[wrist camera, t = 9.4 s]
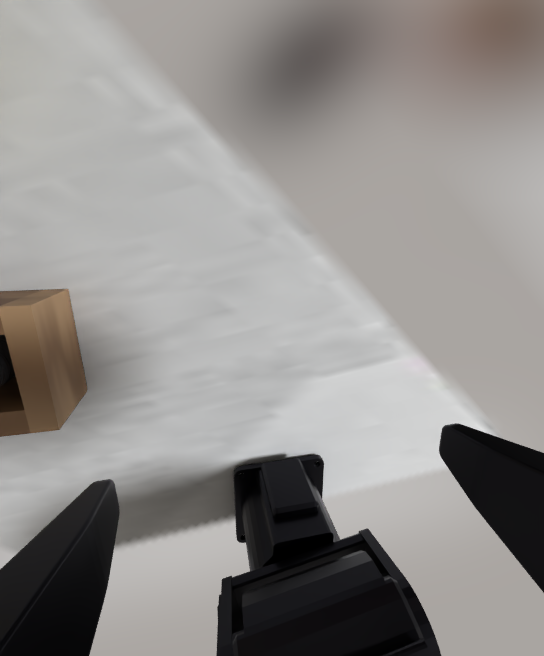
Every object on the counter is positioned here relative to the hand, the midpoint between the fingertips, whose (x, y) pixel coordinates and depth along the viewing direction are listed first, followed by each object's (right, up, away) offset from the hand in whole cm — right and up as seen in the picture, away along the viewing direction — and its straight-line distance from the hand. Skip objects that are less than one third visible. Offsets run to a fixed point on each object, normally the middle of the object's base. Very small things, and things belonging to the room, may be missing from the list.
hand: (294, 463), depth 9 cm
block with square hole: (-14, +3, +9) cm, 17 cm away
